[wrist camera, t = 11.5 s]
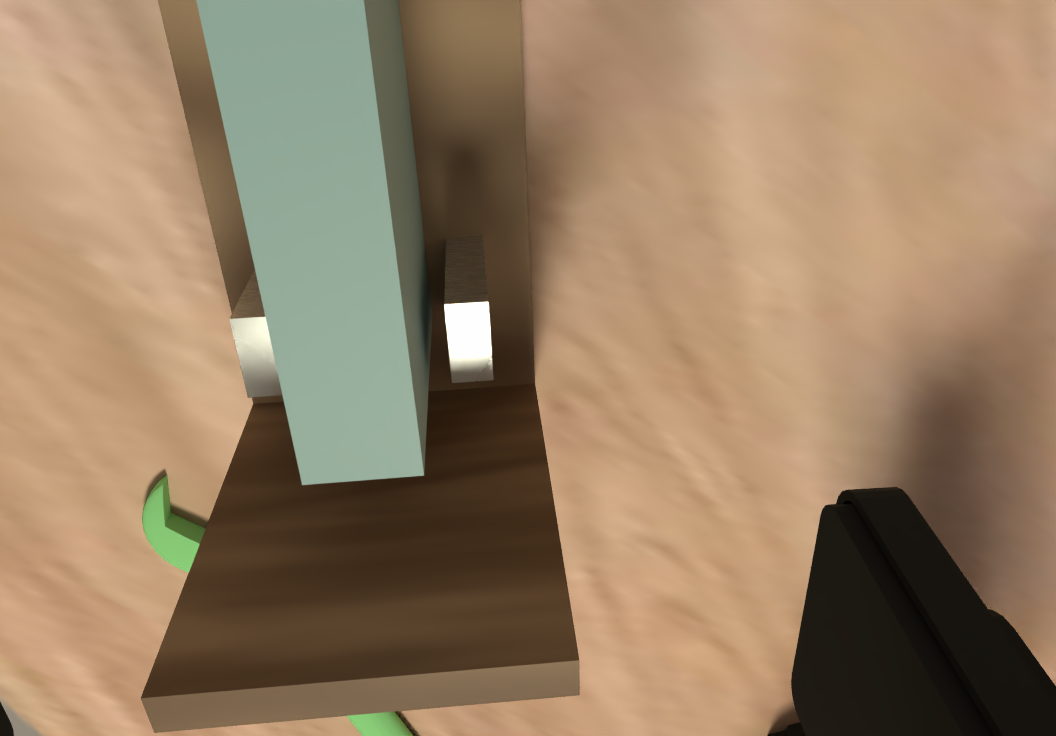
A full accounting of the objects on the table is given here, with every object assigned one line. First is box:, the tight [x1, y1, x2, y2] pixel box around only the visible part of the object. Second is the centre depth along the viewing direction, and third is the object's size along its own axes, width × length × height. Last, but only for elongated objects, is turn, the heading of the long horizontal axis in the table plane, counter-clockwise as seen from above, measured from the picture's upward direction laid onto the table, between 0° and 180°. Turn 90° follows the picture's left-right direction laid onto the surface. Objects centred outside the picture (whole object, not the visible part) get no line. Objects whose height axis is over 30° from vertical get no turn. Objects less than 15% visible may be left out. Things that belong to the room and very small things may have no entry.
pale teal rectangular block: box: [196, 0, 432, 485], centre depth 21 cm, size 14×3×9 cm, turn 2°
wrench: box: [142, 475, 413, 736], centre depth 39 cm, size 25×2×5 cm
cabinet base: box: [141, 0, 580, 733], centre depth 21 cm, size 21×10×14 cm, turn 2°
